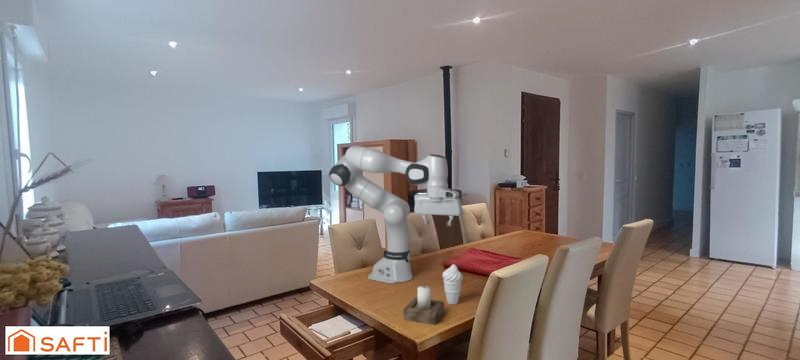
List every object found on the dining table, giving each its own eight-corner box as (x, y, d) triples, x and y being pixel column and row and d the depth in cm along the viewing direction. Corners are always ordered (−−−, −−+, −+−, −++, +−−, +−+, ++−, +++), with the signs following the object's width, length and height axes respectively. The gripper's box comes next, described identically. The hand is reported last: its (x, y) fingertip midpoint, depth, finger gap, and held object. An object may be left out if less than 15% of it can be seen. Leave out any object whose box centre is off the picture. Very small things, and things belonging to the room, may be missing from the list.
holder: (403, 319, 136) (403, 309, 135) (414, 307, 147) (414, 297, 146) (435, 324, 131) (434, 313, 131) (443, 311, 142) (443, 301, 142)
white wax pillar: (415, 309, 137) (415, 287, 137) (419, 304, 142) (419, 283, 142) (428, 311, 136) (428, 289, 135) (432, 306, 140) (432, 284, 140)
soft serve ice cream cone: (449, 307, 146) (448, 268, 145) (438, 300, 153) (438, 263, 152) (466, 304, 149) (466, 265, 148) (455, 297, 157) (455, 260, 156)
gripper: (411, 193, 156) (412, 225, 157) (459, 193, 148) (459, 227, 149) (416, 191, 162) (417, 222, 162) (462, 192, 154) (463, 225, 155)
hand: (437, 225), depth 156 cm, fingers open, 8 cm apart
